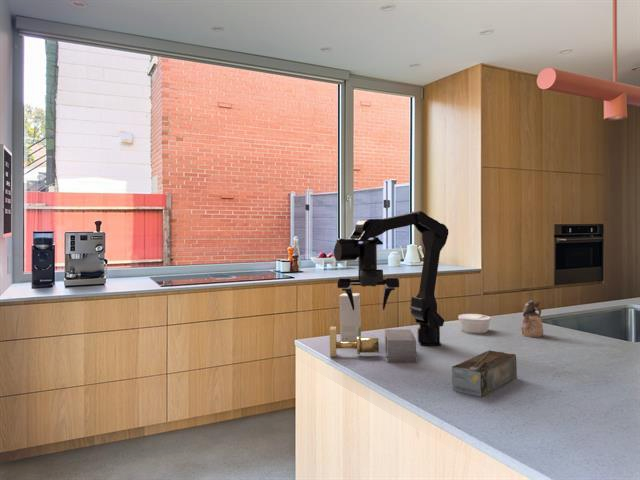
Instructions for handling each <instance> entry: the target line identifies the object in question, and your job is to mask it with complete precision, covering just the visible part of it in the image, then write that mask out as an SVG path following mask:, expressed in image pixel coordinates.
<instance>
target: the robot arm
mask: <svg viewBox="0 0 640 480" xmlns="http://www.w3.org/2000/svg"><path fill="white" fill-rule="evenodd" d="M413 225H414V227H415V229H416V230H417V231H418V232H419V233H421V234H422V235H421V237H422V238H421V241H422V245H423V247H424V255H423V260H422V261H423V262H422V271H421V277H420V283H419V284H420V285H419V290H418V293H417V295H416V296H411V300H410V301H411V303H410V307H409V309H410V313H411V315H412V316H413V318H414V321H415V323H416V324H418V328H417V329H416V330H417V332H416V333H417V342H418V343H419V345H420V346H441V345H442V343H441V337H440V336H441V335H440V334H441V330H440V329H441V327H443V326H444V323H445V319H444V318H443V317H442V316H441V315H440V313H439V312H438V302H437V300H436V296H435V292H436V291H435V290H436V283H437V278H438V270H439V263H440V258H441V257H440V255H441V251H442V250H443V249H444V246H445V245H446V244H447V241H448V237H449V228H448V227H447V226H446V224H444V223H440V221H438V220H437V219H434V218H433V217H430V216H429V215H428V214H426V213H425V212H423V211H422V210H421V211H420V210H416V211H415V210H414V211H412V212H411V211H410V212H409V213H404V214H399V215H395V216H391V217H385V218H370V219H369V218H368V219H367V218H363V219H359V220H358V221H356V223H355V227H354V229H353V231H352V233H351V235H350V236H349V237H348V238H346V239H344V238H337V239H336V243H335V244H334V249H333V256H334V259H335V261H336V262H345V261H346V262H349V261H351V262H352V261H356V260H357V259H358V262H357V263H358V265H357V266H358V279H351V276H339V277H338V279H337V289H341V292H345V293H347V295H348V297H349V300H350V303H351V306H352V309H353V310H354V300H353V288H352V287H353V286H361V287H362V288H364V287H377V286H384V287H383V295H382V296H383V297H382V311H384V310H385V309H386V305H387V303H388V298H389V296H390V294H391V292H392V291H395V290H396V288H400V279H399V278H398V277H397V275H396V276H395V275H394V276H384V270H383V269H381V268H380V269H378V252H377V251H378V250H377V247H378V246H381V245H384V242H383V241H382V240H381V239H380V238H379V237H378V236H380V235H383V234H384V233H385V232H387V231H390V230H395V229H399V228H403V227H408V226H413ZM361 242H362V243H361Z"/></svg>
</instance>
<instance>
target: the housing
mask: <svg viewBox="0 0 640 480" xmlns="http://www.w3.org/2000/svg"><path fill="white" fill-rule="evenodd" d="M384 351H385V356H386V360H387V364H390V363H392V364H393V363H394V364H395V363H396V364H397V363H398V364H399V363H400V364H402V363H403V364H404V363H406V364H408V363H409V364H411V363H413V364H414V363H416V364H417V339H416V337H415V336H414V332H413V331H412V330H411V329H409V328H407V329H384Z"/></svg>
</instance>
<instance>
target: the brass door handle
mask: <svg viewBox="0 0 640 480" xmlns="http://www.w3.org/2000/svg"><path fill="white" fill-rule="evenodd" d="M338 349H340V350H343V349H345V350H346V349H347V350H349V349H352V350H355V349H357V352H356V353H357V355H361V354H367V353H368V354H370V353H371V354H372V353H373V354H374V353H375V354H379V350H380V347H379V337H361V338H360V336H357V342H344V341H337V326H330V327H329V357H337V353H338V351H337V350H338Z"/></svg>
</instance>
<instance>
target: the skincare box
mask: <svg viewBox="0 0 640 480" xmlns="http://www.w3.org/2000/svg"><path fill="white" fill-rule="evenodd" d="M352 293H353V292H352ZM360 295H361V294H360V293H358V292H355V293H353V300H354V310H353V309H352V306H351V303H350V300H349V297H348V295H347V293H346V292H345V293H342V294H340V295H339V297H338V299H339V301H338V302H339V329H340V333H339V334H340V342H357V336H360V338H362V330H361V329H362V328H361V324H362V323H361V322H362V321H361V301H360V299H361V296H360Z"/></svg>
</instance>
